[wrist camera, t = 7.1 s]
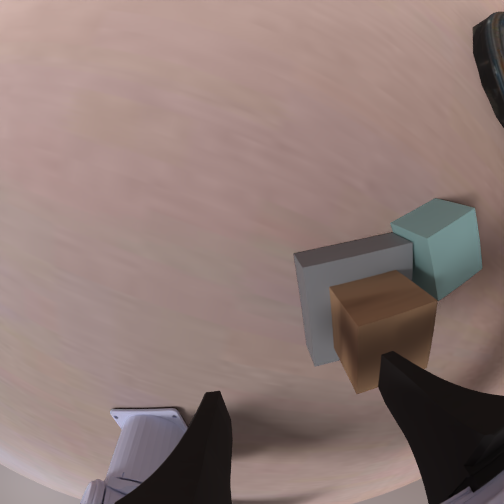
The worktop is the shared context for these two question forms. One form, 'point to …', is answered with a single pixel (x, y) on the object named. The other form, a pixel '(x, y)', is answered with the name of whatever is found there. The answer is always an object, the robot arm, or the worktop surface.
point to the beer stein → (491, 60)
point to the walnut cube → (380, 324)
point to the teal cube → (441, 245)
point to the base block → (342, 281)
